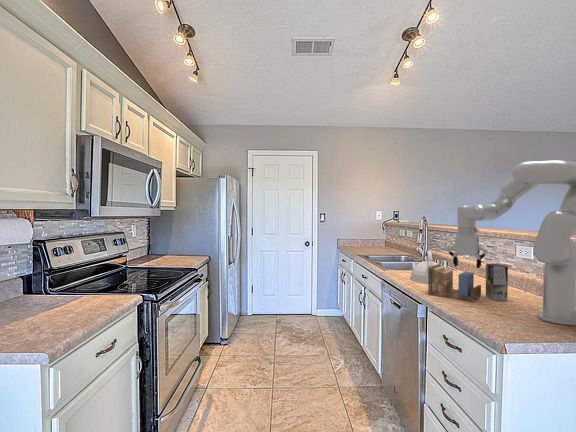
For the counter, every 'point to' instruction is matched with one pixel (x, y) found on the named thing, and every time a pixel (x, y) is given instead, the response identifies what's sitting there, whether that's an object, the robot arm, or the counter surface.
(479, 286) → the book rack
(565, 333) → the counter surface
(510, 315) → the counter surface
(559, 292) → the robot arm
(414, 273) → the kettle
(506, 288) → the coffee box
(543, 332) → the counter surface
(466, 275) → the navy book
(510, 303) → the counter surface
